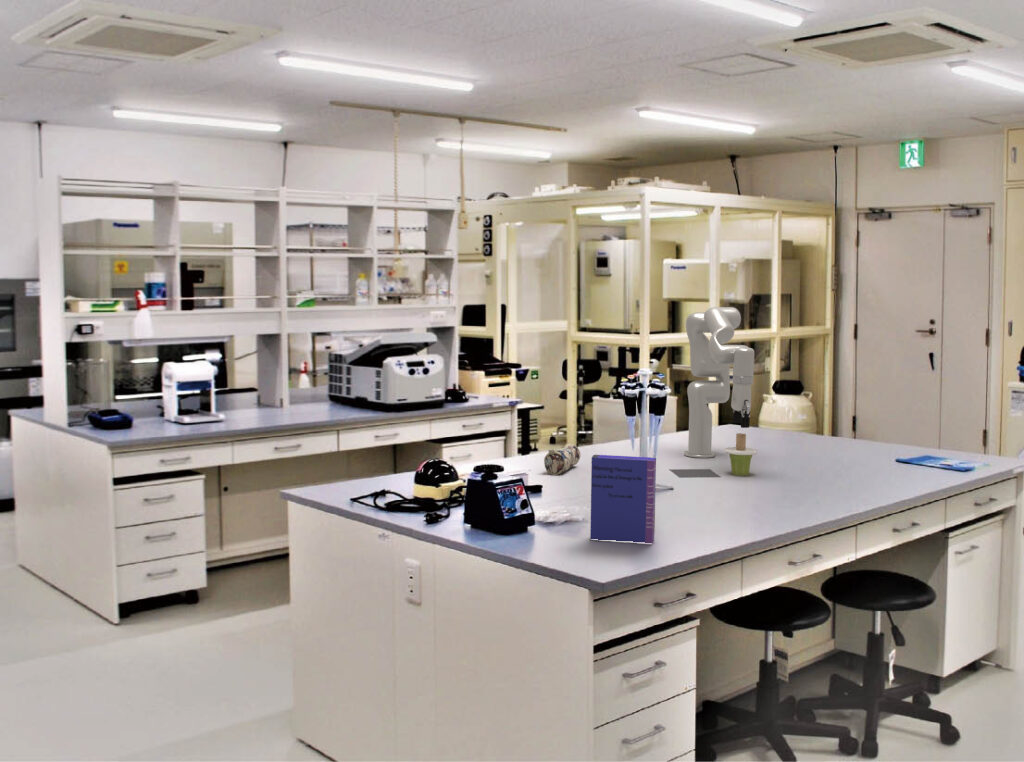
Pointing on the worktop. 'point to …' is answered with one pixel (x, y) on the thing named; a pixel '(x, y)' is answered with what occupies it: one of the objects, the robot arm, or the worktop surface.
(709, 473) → the mat
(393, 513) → the worktop surface
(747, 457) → the plant pot
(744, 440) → the lid
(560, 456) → the pencil case
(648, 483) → the blue hardcover book
